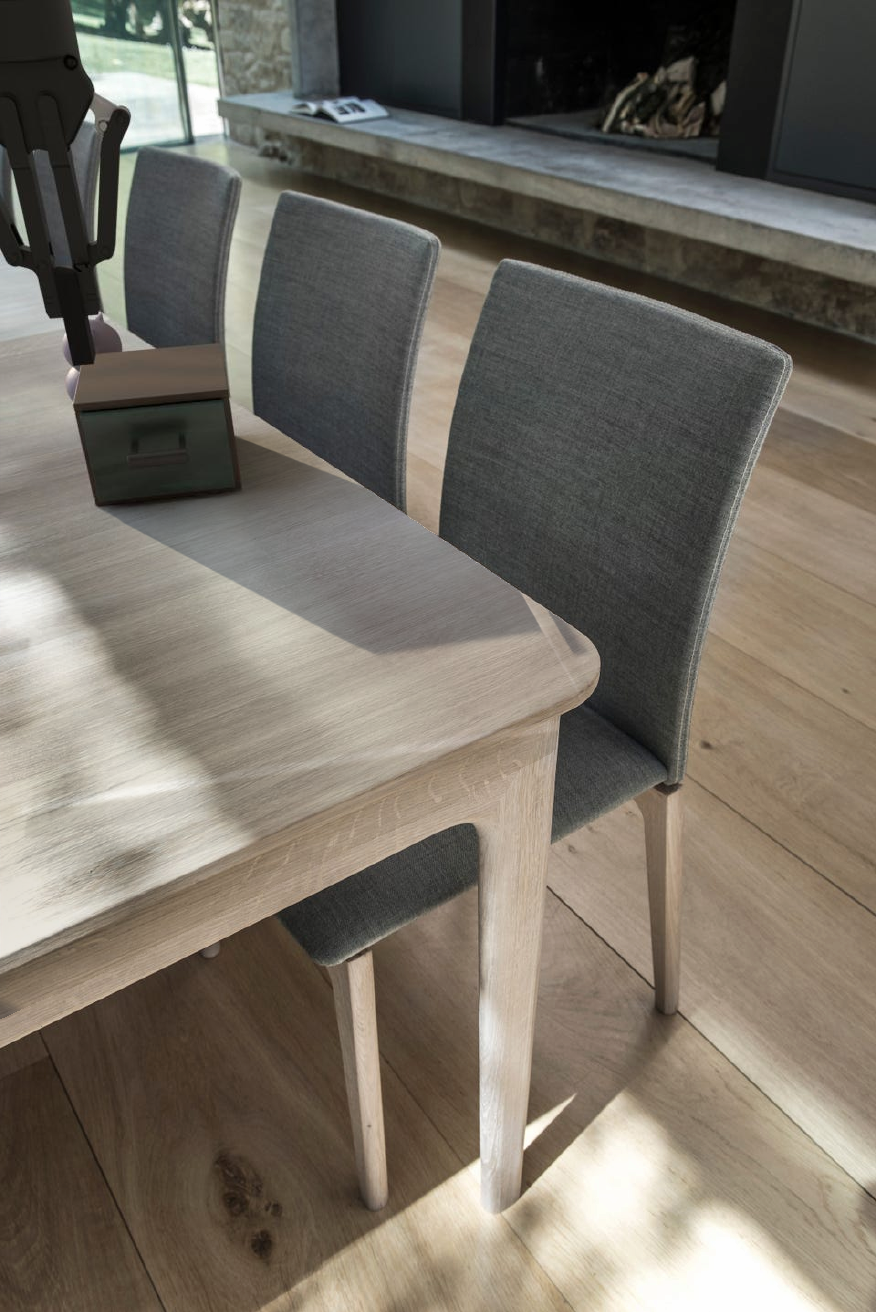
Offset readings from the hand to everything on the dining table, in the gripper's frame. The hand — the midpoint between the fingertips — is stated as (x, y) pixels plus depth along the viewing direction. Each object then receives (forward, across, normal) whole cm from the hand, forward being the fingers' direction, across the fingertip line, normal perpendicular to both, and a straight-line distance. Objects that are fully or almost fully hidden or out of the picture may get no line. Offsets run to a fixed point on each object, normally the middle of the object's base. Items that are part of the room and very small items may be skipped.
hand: (84, 359), depth 79 cm
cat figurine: (+21, +4, -43) cm, 48 cm away
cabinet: (+20, -3, -27) cm, 34 cm away
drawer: (+20, -3, -23) cm, 30 cm away
